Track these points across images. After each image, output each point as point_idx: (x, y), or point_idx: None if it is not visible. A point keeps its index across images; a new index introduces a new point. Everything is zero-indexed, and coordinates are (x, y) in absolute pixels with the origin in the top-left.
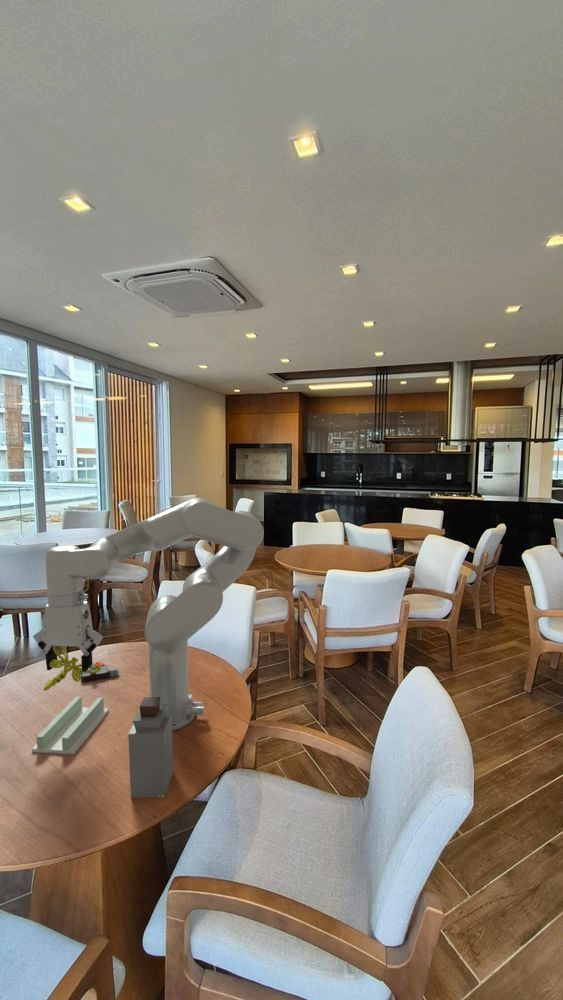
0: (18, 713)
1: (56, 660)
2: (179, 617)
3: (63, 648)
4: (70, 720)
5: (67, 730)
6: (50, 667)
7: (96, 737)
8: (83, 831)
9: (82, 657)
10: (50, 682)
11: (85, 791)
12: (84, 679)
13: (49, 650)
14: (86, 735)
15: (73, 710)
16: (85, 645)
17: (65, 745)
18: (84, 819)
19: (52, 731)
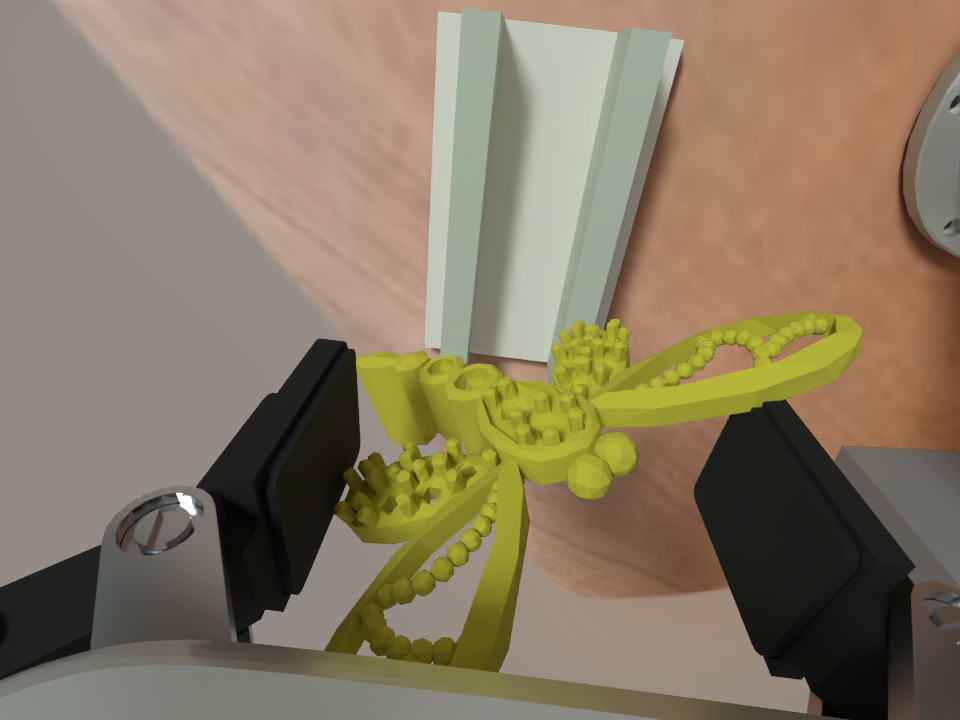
0: (152, 51)
1: (404, 533)
2: None
3: (455, 655)
4: (493, 166)
5: (513, 246)
6: (353, 461)
7: (654, 273)
8: (694, 568)
9: (773, 656)
10: (402, 406)
11: (673, 488)
12: None
13: (250, 635)
14: (615, 285)
15: (491, 128)
16: (890, 711)
17: None
18: (689, 548)
19: (472, 311)
